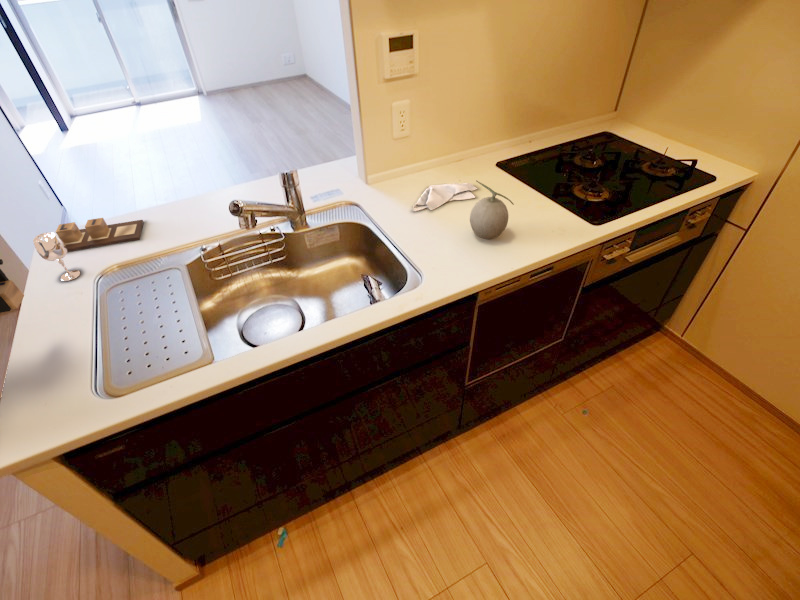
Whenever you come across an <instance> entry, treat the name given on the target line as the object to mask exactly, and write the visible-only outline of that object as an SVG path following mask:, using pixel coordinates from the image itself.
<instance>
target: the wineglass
mask: <svg viewBox="0 0 800 600" xmlns="http://www.w3.org/2000/svg"><path fill="white" fill-rule="evenodd" d="M32 242H33V245H34V248H35V250H36V252H37V253H38V255H39V256H40V257H41V258H42V259H44V260H45V261H48V262H58V264H59V265H61V266H62V267H63V269H64V271H65V272H64V273H63V274H62V275H61V276H60V280H61V281H62V282H69V281H72V280H73V281H74V280H75V279H76V278H78V277H80V275H81V271H80V270H77V269H73V270H69V269H68V267H67V266H66V265H65V262H64V260H63V258H64V257H66V256H67V254H68V252H67V247H66V245H65V244H64V242H63V241H62V240H61V239H60V238H59V236H58V235H57V233H56V232H55V233H54V232H51V231H49V232H42V233H40V234H38V235H36V236H35V237H34V238H33V239H32Z"/></svg>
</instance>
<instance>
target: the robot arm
mask: <svg viewBox="0 0 800 600" xmlns="http://www.w3.org/2000/svg"><path fill="white" fill-rule="evenodd" d="M3 264H4V260H3V259H1V258H0V266H1V265H3ZM8 280H10V279H9V278H8V276H6V273H5V272H4V271H3V270H2V269H1V268H0V282H3V281H8ZM11 311H12V310H11V308H10V307H9V305H8V304H7V303H6V302H5V301H4V300H3V298H2V297H1V296H0V314H1V313H7V312H11Z"/></svg>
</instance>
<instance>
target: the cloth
mask: <svg viewBox="0 0 800 600" xmlns="http://www.w3.org/2000/svg"><path fill="white" fill-rule="evenodd" d="M476 190H478V188H477V187H476V186H475V185H473V183H472V182H462V183H459V182H458V183H457V182H455V183H454V182H453V183H442V184H430V185H429V187H427V188H426V189H425V190H424V191H423V193H422V194H421V196H420V197H419V198H418V200H417V201H416V202H415V203H414V205H413V206H412V211H413V212H418V211H422V210H425V209H428V210H429V211H433V210H435V209H437V208H440V207H441V206H443V205H444V204H445V203H448V202H452V201H453V202H454V201H465V200H471V199H475V198H476V196H475V195H474V194H473V191H476Z"/></svg>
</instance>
